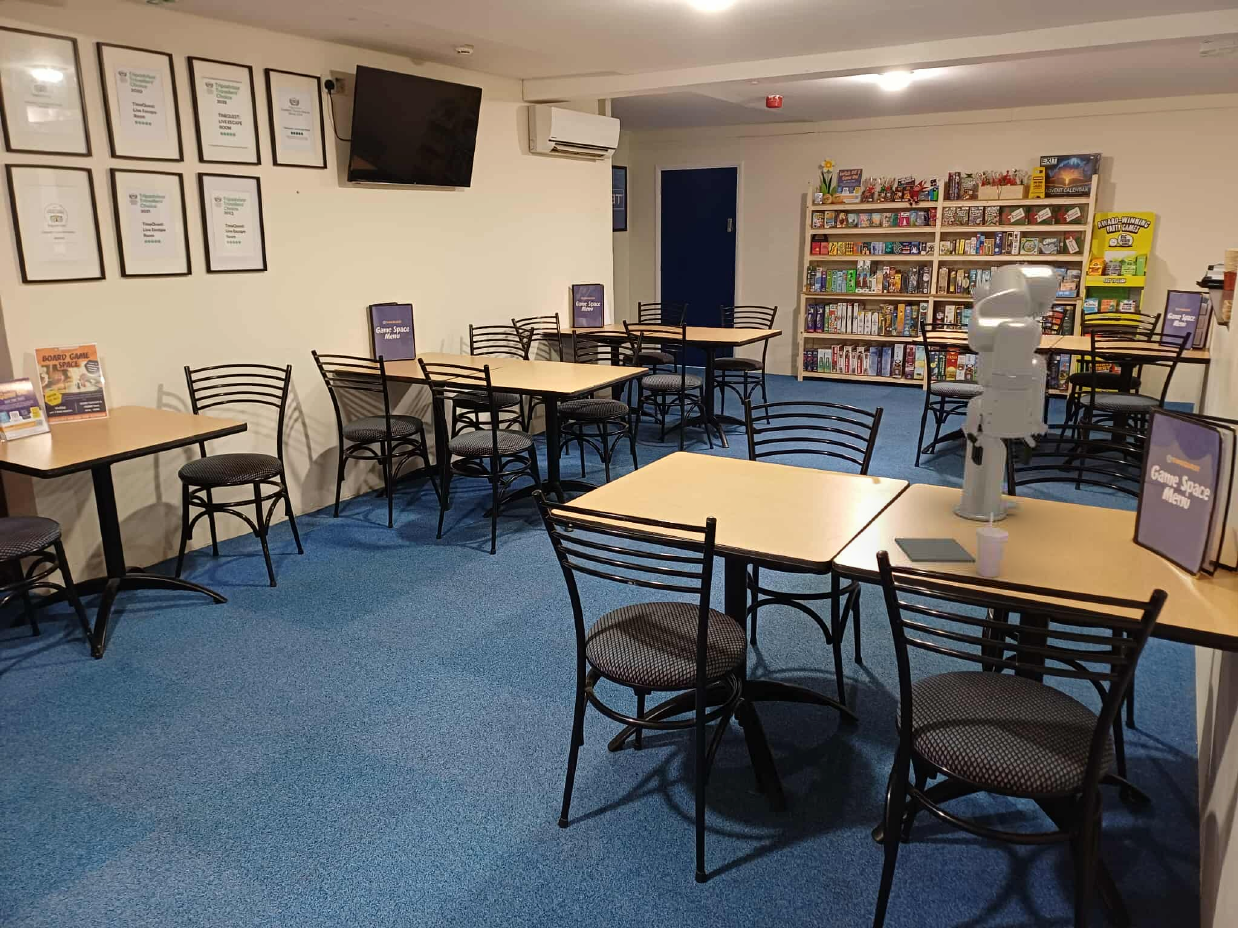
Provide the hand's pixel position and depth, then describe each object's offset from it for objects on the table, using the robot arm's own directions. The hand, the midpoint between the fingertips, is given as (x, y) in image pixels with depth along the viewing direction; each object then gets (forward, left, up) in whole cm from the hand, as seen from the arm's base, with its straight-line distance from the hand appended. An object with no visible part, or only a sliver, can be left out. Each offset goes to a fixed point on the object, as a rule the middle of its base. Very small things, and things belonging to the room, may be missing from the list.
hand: (1000, 464), depth 180 cm
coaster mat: (+7, -14, -25) cm, 29 cm away
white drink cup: (0, 0, -25) cm, 25 cm away
